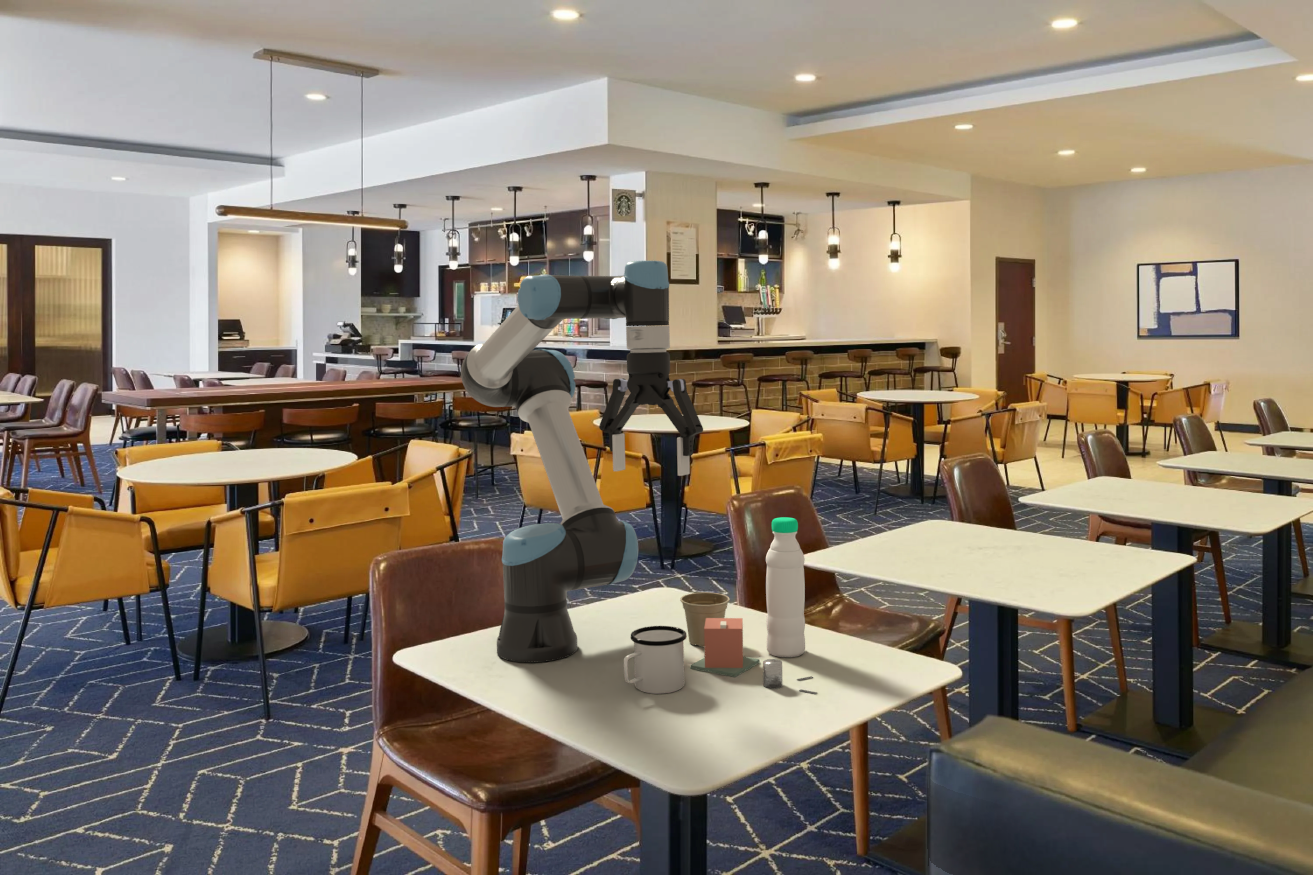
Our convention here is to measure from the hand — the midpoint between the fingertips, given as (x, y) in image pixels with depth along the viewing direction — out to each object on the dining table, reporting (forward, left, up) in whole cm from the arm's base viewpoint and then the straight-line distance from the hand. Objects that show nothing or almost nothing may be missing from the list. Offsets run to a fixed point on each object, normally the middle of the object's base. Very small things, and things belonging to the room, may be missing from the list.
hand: (650, 472), depth 180 cm
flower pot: (+1, +16, -35) cm, 38 cm away
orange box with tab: (+11, +6, -34) cm, 36 cm away
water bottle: (+17, +18, -35) cm, 43 cm away
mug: (+6, -10, -35) cm, 37 cm away
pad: (+11, +6, -35) cm, 37 cm away
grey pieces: (+26, +4, -35) cm, 44 cm away
